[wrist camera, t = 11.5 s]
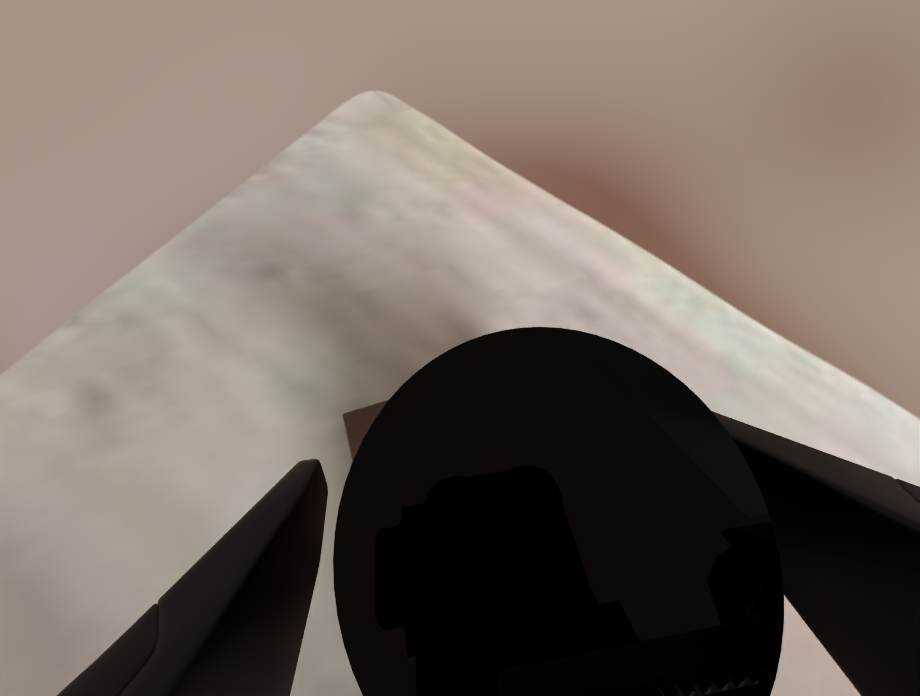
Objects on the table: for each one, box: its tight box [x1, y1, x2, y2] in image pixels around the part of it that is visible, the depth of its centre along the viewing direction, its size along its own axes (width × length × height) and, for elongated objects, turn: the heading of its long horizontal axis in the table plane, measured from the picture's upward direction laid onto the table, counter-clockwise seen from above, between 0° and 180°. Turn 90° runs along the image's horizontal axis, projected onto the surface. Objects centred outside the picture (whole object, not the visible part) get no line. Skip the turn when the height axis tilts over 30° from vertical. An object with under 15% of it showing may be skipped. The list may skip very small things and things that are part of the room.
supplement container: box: [333, 327, 784, 696], centre depth 10 cm, size 7×7×10 cm
